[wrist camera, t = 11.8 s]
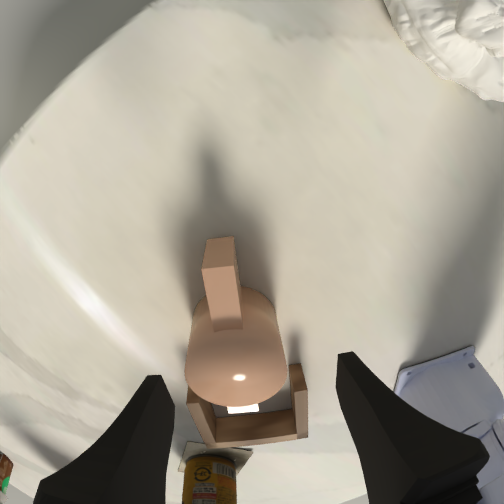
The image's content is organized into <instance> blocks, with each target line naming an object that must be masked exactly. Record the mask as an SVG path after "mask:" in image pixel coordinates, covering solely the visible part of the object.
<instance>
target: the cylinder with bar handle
mask: <svg viewBox="0 0 504 504" xmlns="http://www.w3.org/2000/svg"><path fill="white" fill-rule="evenodd" d="M201 271H202V276H203V281H204V286H205V291H206V296H204V297H203V298H202V299H201V300H200V302H199V303H198V304H197V306H196V308H195V311H194V315H193V321H192V327H191V333H190V339H189V345H188V351H187V357H186V364H185V378H186V381H187V383H188V385H189V387H190V388H191V389H192V390H193V391H194V392H195V393H196V394H197V395H198V396H200V397H201V398H203V399H205V400H206V401H209V402H211V403H214V404H217V405H222V406H227V409H228V412H229V414H232V413H244V412H254V411H259V407H258V403H260V402H263V401H265V400H267V399H269V398H270V397H272V396H273V395H275V394H276V393H277V392H278V391H279V390H280V389H281V388H282V386H283V385H284V383H285V380H286V377H287V365H286V360H285V355H284V350H283V345H282V341H281V336H280V331H279V326H278V322H277V317H276V312H275V309H274V307H273V305H272V304H271V302H270V301H269V300H268V299H267V298H266V297H265V296H264V295H263V294H261V293H260V292H258V291H256V290H253V289H251V288H247V287H242V286H240V279H239V272H238V265H237V258H236V250H235V243H234V236H230V237H222V238H214V239H207V243H206V248H205V253H204V258H203V263H202V268H201Z"/></svg>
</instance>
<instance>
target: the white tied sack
mask: <svg viewBox="0 0 504 504" xmlns="http://www.w3.org/2000/svg"><path fill="white" fill-rule="evenodd" d="M383 1H384V3H385V5H386V7H387V9H388V12H389V14H390V16H391V21H392V24H393V27H394V29H395V31H396V32H397V34H398V36H399V37H400V39H401V40H402V41H403V42H404V43H405V44H406V46H407V48H408V50H409V51H410V52H411V53H412V54H413V55H414V56H415V57H416V58H417V59H418V60H419V61H421V62H423V63H425V64H426V65H427V66H428V67H429V68H430V69H431V70H432V71H433V72H434V73H435V74H436V75H437V76H439V77H440V78H441V79H444V80H452V81H454V82H456V83H458V84H460V85H463V86H464V87H466V88H468V89H469V90H471V91H472V92H474V93H475V94H477V95H478V96H479V97H480V98H481V99H483V100H495V101H499V102H504V0H383Z"/></svg>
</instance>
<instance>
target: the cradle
mask: <svg viewBox="0 0 504 504" xmlns="http://www.w3.org/2000/svg"><path fill="white" fill-rule="evenodd" d="M289 376H290V388H291V401H292V409H289V410H282V411H276V412H268V413H260V414H252V415H243V416H233V417H221V418H216V416H215V413H214V410H213V408H212V405H211V402H209V401H206V400H205V399H203V398H201V397H200V396H198V395H197V394H196V393H195V392H194V391H193V390H192V389H191V388H190V387H189V385H188V393H187V401H186V404H187V407H188V409H189V411H190V413H191V415H192V418H193V420H194V422H195V424H196V426H197V428H198V431H199V433H200V435H201V437H202V439H203V441H204V443H205V445H206V447H207V449H211V448H228V447H240V446H251V445H260V444H268V443H276V442H283V441H289V440H296V439H302V438H307V437H308V390H307V386H306V382H305V378H304V374H303V370H302V366H301V363H300V364H294V365H289Z"/></svg>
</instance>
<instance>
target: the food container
mask: <svg viewBox="0 0 504 504" xmlns="http://www.w3.org/2000/svg"><path fill="white" fill-rule="evenodd" d="M12 468H13V463H12V462H11V460H10V459H9V458H8V457H7V456H6V455H5V454H3V453H0V504H3V503H5V502H6V500H7V499H8V498H7V496H6V495H5V494H6V490H7V486H8V483H9V479H10V475H11V472H12Z"/></svg>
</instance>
